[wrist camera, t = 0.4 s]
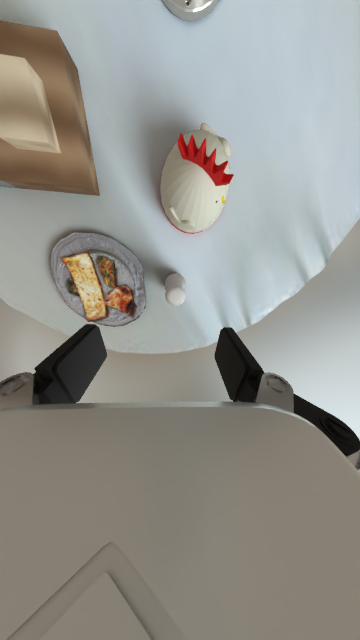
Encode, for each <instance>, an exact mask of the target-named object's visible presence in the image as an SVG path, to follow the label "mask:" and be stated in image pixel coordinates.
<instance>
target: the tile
mask: <svg viewBox="0 0 360 640" xmlns="http://www.w3.org/2000/svg"><path fill="white" fill-rule="evenodd" d="M0 138H1V139H3V140H4V141H6V142H7V143H9V144H11V145H12V146H14V147H15V148H17V149H26V150H34V151H43V152H52V153H60V154H61V151H60V148H59V144H58V140H57V136H56V132H55V128H54V124H53V120H52V116H51V112H50V109H49V105H48V101H47V97H46V93H45V89H44V85H43V81H42V80H41V78H40V77H39V76H38V75H37V73H36V72H35V71H34V69H33V68H32V67H31V66H30V64H29V63H28V62H27V60H26V59H25V58H22V57H15V56H9V55H3V54H0Z"/></svg>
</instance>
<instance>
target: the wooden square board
mask: <svg viewBox="0 0 360 640" xmlns="http://www.w3.org/2000/svg"><path fill="white" fill-rule="evenodd" d="M0 54H3V55H9V56H15V57H22V58H25V59H26V60H27V62H28V63H29V64H30V66H31V67H32V68H33V69H34V71H35V72H36V73H37V75H38V76H39V77H40V78H41V80H42V81H43V85H44V89H45V93H46V97H47V101H48V105H49V109H50V112H51V116H52V120H53V124H54V128H55V132H56V136H57V140H58V144H59V148H60V151H61V154H60V153H52V152H43V151H34V150H26V149H17V148H15V147H14V146H12V145H11V144H9V143H7V142H6V141H4V140H3V139H1V138H0V180H1V181H3V182H6V183H8V184H11V185H13V186H16V187H18V188H24V189H35V190H45V191H55V192H66V193H76V194H87V195H97V196H100V194H99V188H98V183H97V177H96V171H95V166H94V160H93V154H92V149H91V143H90V138H89V132H88V126H87V121H86V115H85V109H84V104H83V98H82V93H81V87H80V81H79V76H78V70H77V67H76V66H75V64H74V62H73V60H72V58H71V56H70V54H69V52H68V51H67V49H66V47H65V45H64V43H63V41H62V39H61V37H60V36H59V34H58V32H57V31H54V30H49V29H43V28H37V27H32V26H26V25H20V24H14V23H9V22H3V21H0Z"/></svg>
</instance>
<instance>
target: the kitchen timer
mask: <svg viewBox="0 0 360 640" xmlns="http://www.w3.org/2000/svg"><path fill="white" fill-rule="evenodd" d="M230 154H231V149H230V145H229V143H228V141H227V140H226V139H224V138H221V137H219V136H218V135H216V134H215V133H214V132H213V131H212V130H211V128H210V127H209V126H208V125H207V124H205V123H202V124H201V128H200V130H195V131H192V132H189V133H187V134H185V135H184V136H183V135H182V133H181V134H180V137H179V140H178V141H177V142H176V144H175V146H174V147H173V149H172V150H171V152H170V153H169V155H168V157H167V159H166V162H165V165H164V168H163V171H162V175H161V185H160V192H161V201H162V205H163V208H164V211H165V214H166V216H167V218H168V219H169V221H170V222H171V224H172V225H173V226H175V227H176V228H177V229H178V230H180V231H182V232H184V233H192V234H194V233H198V232H202V231H203V230H205V229H206V228H208V227H209V226H211V225H212V223H213V222H214V221H215V220H216V219H217V218H218V216H219V214H220V213H221V211H222V209H223V207H224V204H225V201H226V198H227V194H228V190H229V183H230V181H231V179H232V177H233V174H230V168H229V160H228V157H229V156H230Z"/></svg>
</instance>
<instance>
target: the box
mask: <svg viewBox="0 0 360 640" xmlns="http://www.w3.org/2000/svg"><path fill="white" fill-rule="evenodd" d="M0 186H3V187H14V188H18V187H16V186H13V185H11V184H8V183H6V182H3V181H1V180H0Z"/></svg>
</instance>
